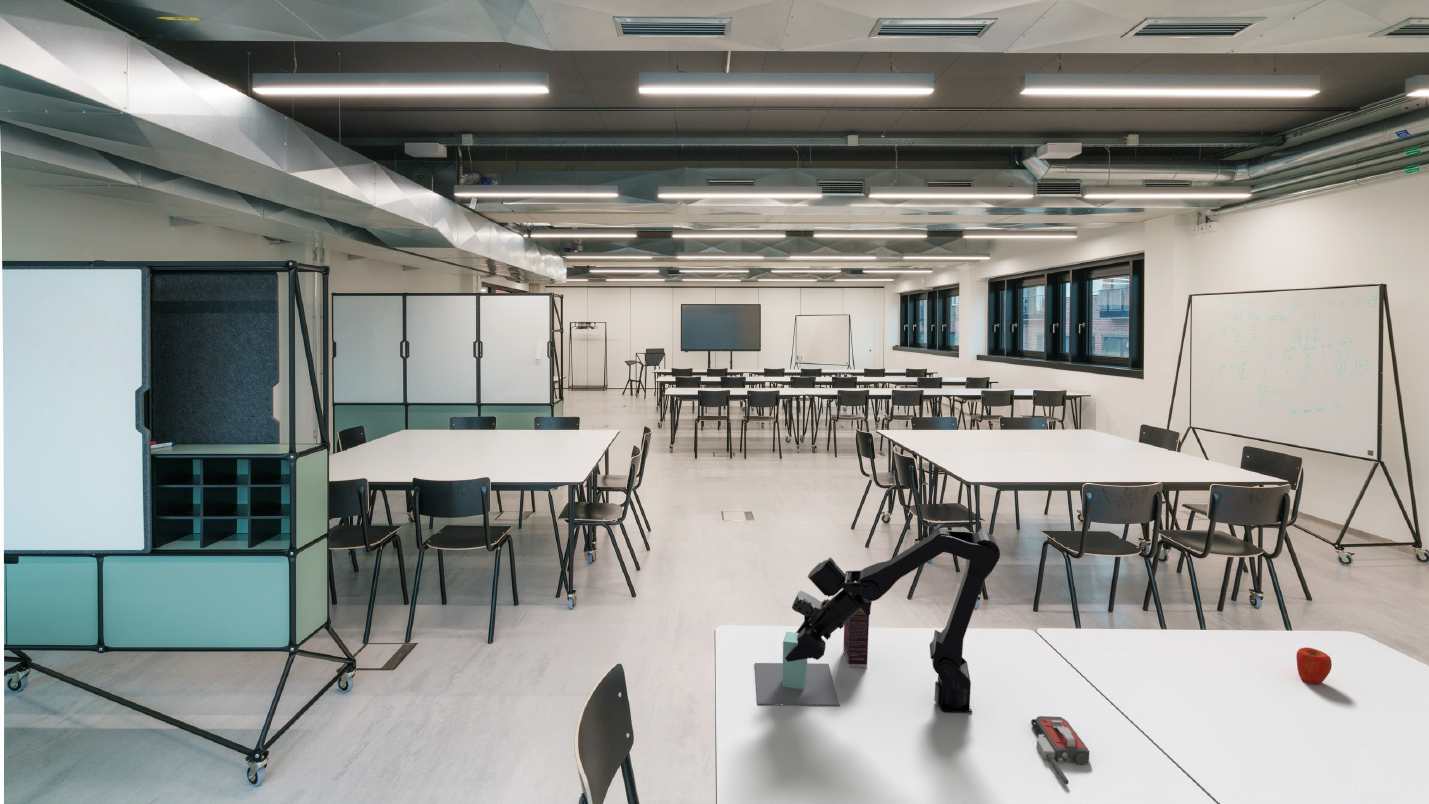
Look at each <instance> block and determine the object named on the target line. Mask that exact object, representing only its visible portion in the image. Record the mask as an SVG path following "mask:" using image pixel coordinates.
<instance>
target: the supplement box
mask: <svg viewBox="0 0 1429 804" xmlns="http://www.w3.org/2000/svg"><path fill="white" fill-rule="evenodd" d="M869 625H870V615H867V614H866V613H865V612H864V611H863V610H862V609H861V610H859V611H858V612H857V613H856V614H854V615H853V616H852V617H851V618H849V619H848V620H847V621H846V622H845V623H844V627H843V649H842V651H843V654H844V657H845V660H846V662H847V665H848V666H847V667H848V668H867V667H868V653H869V652H868V651H869V650H868V649H869V629H870V628H869Z"/></svg>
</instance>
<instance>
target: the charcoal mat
mask: <svg viewBox="0 0 1429 804" xmlns="http://www.w3.org/2000/svg"><path fill="white" fill-rule="evenodd" d="M754 672H755V683H756V684H755V685H756V686H755V687H756V701H757V702H756V703H757V705H758V706H762V705H763V706H765V705H766V706H776V705H775V704H778V705H777V706H818V705H823V706H825V707H826V706H831V707H832V706H835V707H838V706H841V705H840V700H839V697H838V693H837V689H836V686H835V682H834V678H833V674H832V672H831V668H830V664H829V663H812V662H811V663H808V662H807V680H806V684H805V688H804V689H797V688H789V687H782V683H783V662H779V663H778V662H754ZM781 704H783V705H781ZM823 706H822V707H823Z"/></svg>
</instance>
